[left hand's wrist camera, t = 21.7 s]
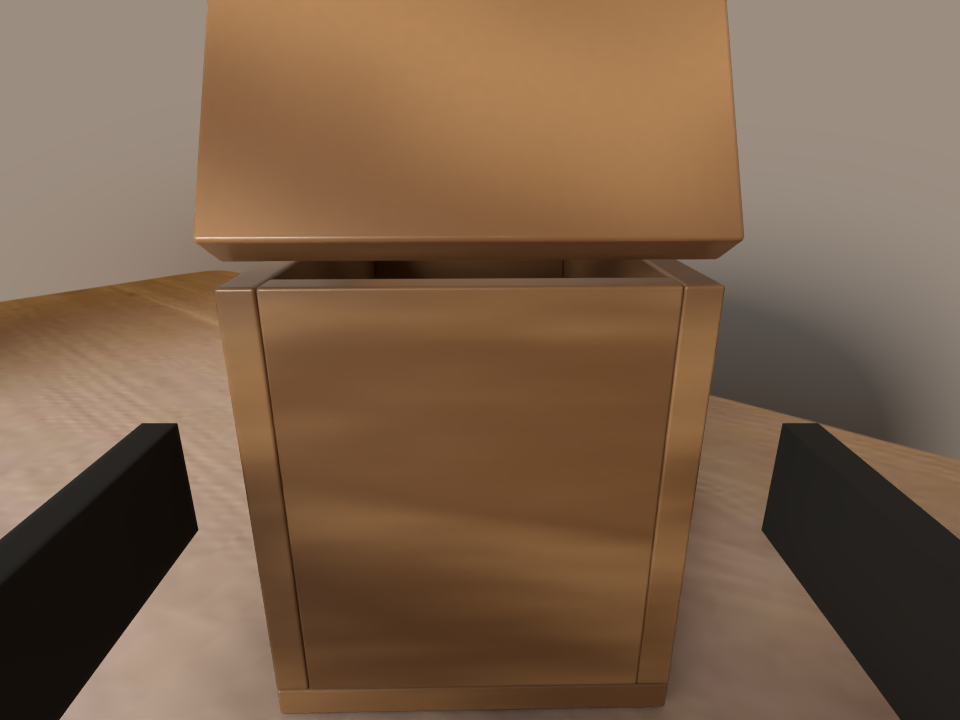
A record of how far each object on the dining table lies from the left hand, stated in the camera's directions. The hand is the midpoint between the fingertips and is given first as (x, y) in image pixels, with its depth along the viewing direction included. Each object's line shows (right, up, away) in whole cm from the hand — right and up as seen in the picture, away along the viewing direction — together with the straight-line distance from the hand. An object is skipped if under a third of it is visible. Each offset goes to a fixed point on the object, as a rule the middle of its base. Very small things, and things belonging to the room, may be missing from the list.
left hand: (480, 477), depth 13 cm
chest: (0, -3, +8) cm, 9 cm away
